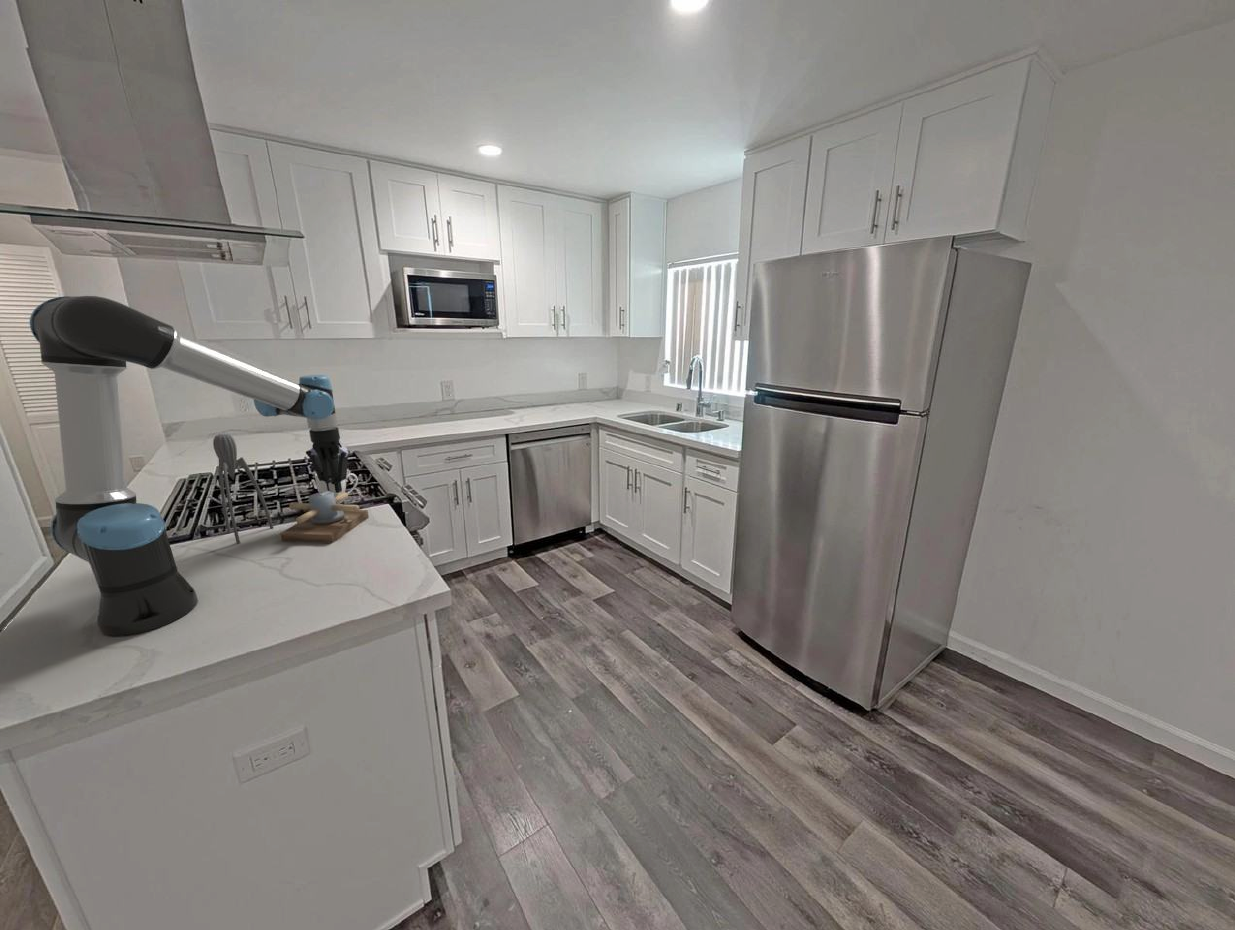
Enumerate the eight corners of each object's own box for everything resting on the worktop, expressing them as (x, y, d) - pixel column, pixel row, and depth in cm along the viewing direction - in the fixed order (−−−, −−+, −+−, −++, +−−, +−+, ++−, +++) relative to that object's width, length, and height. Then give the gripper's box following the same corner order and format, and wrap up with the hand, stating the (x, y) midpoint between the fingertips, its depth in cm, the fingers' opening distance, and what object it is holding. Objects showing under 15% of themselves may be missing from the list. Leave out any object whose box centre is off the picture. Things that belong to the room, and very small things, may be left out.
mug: (321, 511, 156) (314, 478, 152) (320, 503, 163) (314, 471, 159) (362, 503, 162) (357, 471, 159) (359, 496, 169) (354, 465, 165)
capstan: (339, 535, 131) (334, 508, 129) (268, 533, 133) (261, 506, 131) (381, 507, 151) (377, 483, 149) (319, 505, 153) (314, 481, 151)
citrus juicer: (238, 544, 133) (211, 439, 124) (209, 541, 135) (180, 437, 126) (274, 527, 144) (251, 430, 135) (246, 524, 146) (222, 428, 137)
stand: (332, 542, 134) (330, 529, 132) (281, 541, 134) (278, 528, 133) (368, 517, 151) (366, 505, 150) (323, 516, 152) (320, 504, 150)
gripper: (352, 425, 145) (363, 498, 152) (312, 424, 146) (325, 496, 153) (335, 431, 138) (348, 507, 145) (294, 430, 139) (309, 505, 146)
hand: (336, 501), depth 149 cm, fingers closed
